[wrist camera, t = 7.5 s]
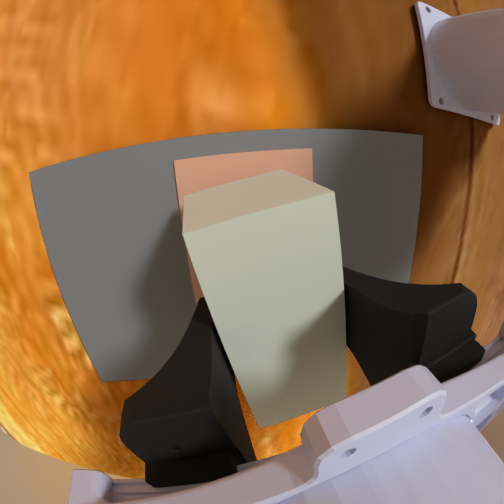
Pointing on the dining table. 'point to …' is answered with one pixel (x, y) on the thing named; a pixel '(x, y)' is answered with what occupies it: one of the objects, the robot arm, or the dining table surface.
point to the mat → (171, 225)
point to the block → (273, 288)
